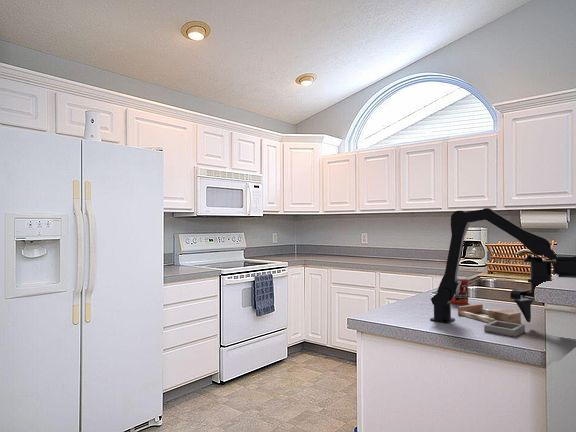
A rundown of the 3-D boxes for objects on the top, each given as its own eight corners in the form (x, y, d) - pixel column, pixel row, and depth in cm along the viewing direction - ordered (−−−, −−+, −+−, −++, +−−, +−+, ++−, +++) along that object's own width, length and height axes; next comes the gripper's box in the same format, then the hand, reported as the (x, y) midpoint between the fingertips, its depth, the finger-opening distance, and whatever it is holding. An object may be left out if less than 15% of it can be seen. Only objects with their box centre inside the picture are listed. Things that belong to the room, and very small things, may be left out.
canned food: (457, 305, 173) (456, 279, 173) (445, 301, 181) (444, 276, 181) (472, 303, 175) (471, 278, 175) (460, 300, 183) (459, 275, 183)
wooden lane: (516, 320, 146) (516, 311, 146) (492, 323, 142) (492, 315, 142) (480, 311, 161) (480, 303, 161) (457, 314, 156) (457, 306, 157)
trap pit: (514, 336, 126) (514, 330, 126) (484, 331, 133) (484, 325, 133) (524, 331, 132) (524, 324, 132) (495, 326, 139) (495, 320, 139)
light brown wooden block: (520, 324, 142) (520, 312, 142) (509, 326, 139) (509, 314, 139) (499, 319, 149) (499, 308, 149) (488, 321, 146) (488, 310, 146)
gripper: (588, 278, 126) (589, 329, 126) (531, 271, 143) (532, 316, 143) (563, 280, 122) (564, 333, 122) (508, 273, 139) (509, 320, 139)
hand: (542, 325), depth 131 cm, fingers open, 9 cm apart
